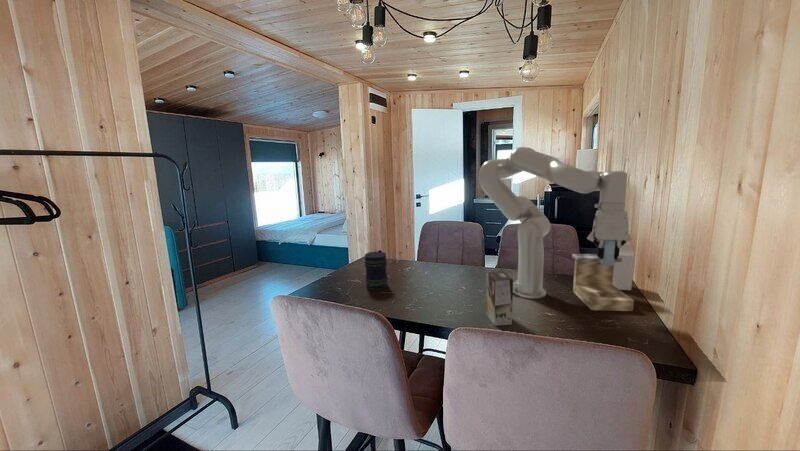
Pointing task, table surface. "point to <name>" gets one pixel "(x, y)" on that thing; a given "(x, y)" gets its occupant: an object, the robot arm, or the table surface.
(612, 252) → the peg
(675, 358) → the table surface
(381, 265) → the storage jar
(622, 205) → the robot arm
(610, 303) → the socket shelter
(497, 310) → the coffee box
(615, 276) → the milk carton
